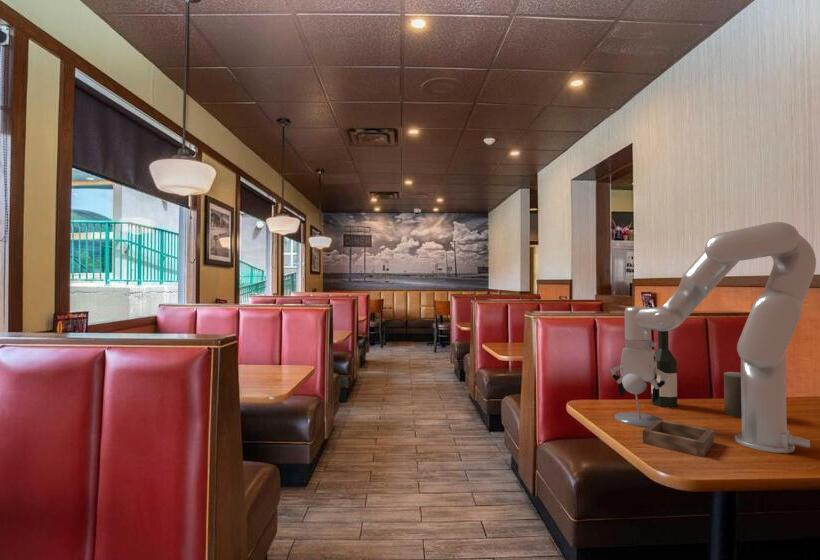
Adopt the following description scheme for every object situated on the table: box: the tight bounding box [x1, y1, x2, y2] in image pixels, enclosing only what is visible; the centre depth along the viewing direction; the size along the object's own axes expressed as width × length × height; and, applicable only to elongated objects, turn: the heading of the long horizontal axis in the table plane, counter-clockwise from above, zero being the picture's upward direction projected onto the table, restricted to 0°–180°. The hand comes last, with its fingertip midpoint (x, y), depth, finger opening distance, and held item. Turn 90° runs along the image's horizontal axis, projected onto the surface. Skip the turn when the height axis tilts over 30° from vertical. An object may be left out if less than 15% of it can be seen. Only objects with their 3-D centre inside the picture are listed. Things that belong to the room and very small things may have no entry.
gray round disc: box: [614, 411, 663, 428], centre depth 138 cm, size 14×14×1 cm
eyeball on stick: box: [622, 374, 648, 419], centre depth 138 cm, size 7×7×15 cm
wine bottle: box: [650, 331, 678, 409], centre depth 156 cm, size 8×8×30 cm
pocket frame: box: [642, 419, 715, 458], centre depth 118 cm, size 14×14×4 cm
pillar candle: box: [723, 371, 742, 419], centre depth 144 cm, size 10×10×15 cm
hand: (638, 398), depth 138 cm, fingers open, 9 cm apart
